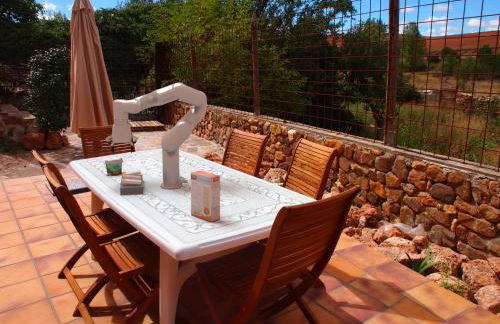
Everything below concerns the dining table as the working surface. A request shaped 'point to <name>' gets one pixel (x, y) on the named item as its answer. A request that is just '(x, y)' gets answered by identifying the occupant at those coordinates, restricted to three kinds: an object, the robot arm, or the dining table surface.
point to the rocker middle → (131, 177)
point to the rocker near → (131, 181)
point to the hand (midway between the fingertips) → (122, 152)
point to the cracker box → (205, 195)
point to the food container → (114, 167)
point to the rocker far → (132, 173)
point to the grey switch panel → (131, 187)
